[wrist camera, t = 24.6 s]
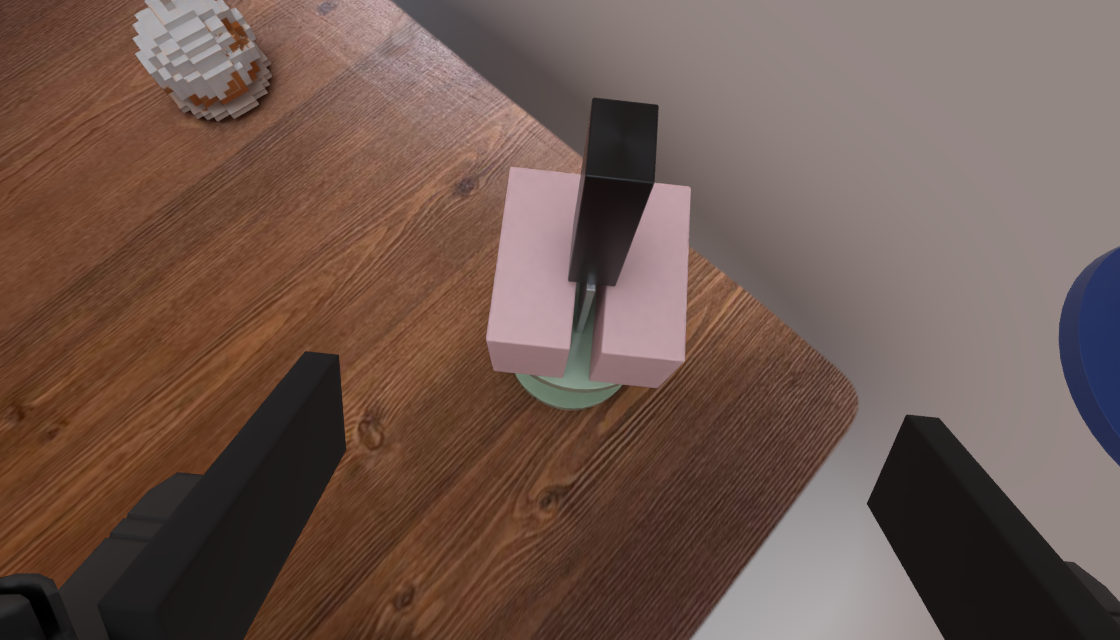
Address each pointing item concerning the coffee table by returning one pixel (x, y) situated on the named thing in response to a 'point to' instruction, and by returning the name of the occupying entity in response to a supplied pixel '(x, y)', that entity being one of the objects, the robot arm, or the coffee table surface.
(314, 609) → the coffee table surface
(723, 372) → the coffee table surface
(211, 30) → the decorative ornament
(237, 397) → the coffee table surface
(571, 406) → the cake stand
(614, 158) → the knife
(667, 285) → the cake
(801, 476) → the coffee table surface
